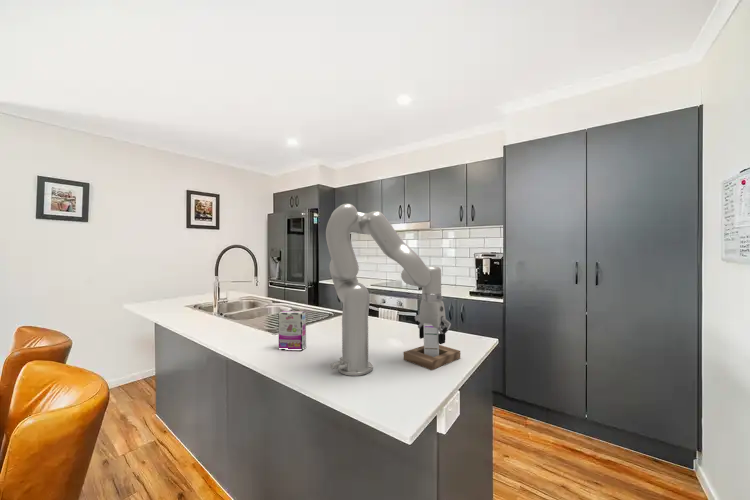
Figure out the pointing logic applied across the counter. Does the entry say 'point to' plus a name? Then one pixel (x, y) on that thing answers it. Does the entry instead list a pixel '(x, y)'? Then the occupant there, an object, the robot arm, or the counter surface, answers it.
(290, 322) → the candy bar box
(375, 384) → the counter surface
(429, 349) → the syrup box
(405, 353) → the square wooden frame
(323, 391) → the counter surface
